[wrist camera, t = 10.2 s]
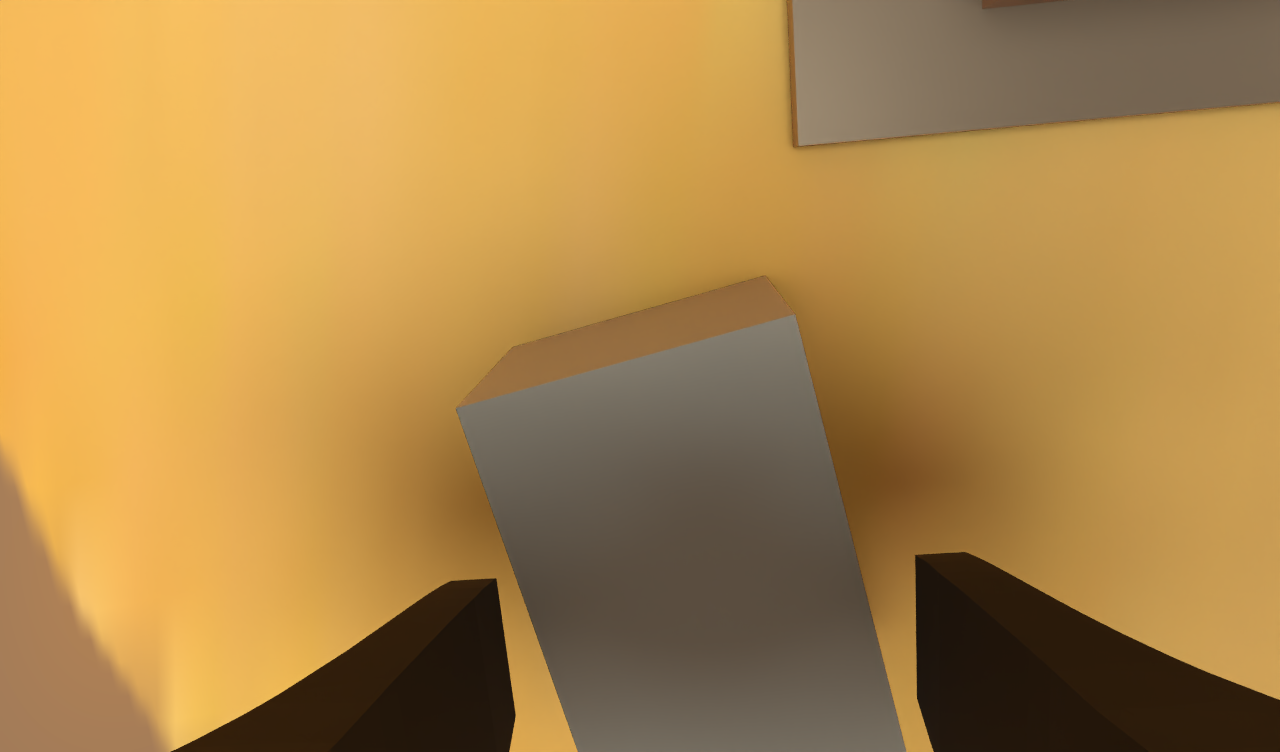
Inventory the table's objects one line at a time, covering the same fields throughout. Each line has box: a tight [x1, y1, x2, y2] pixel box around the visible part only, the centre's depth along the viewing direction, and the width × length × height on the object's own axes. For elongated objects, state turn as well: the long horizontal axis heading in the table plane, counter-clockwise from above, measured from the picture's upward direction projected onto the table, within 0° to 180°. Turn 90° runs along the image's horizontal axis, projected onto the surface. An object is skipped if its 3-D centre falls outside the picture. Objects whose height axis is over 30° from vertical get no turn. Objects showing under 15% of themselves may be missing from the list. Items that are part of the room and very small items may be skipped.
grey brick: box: [456, 276, 906, 752], centre depth 13 cm, size 4×7×4 cm, turn 16°
